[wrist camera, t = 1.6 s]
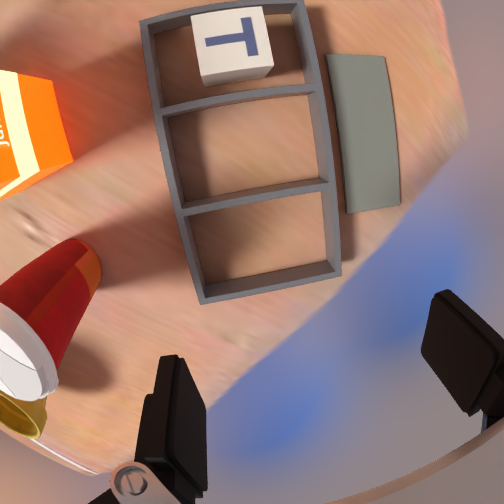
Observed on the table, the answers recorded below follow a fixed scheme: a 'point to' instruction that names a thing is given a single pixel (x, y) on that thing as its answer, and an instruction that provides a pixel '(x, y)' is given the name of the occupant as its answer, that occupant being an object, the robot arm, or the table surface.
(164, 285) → the table surface
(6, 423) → the plant pot
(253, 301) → the table surface
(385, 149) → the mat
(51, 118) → the orange juice
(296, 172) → the table surface
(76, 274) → the coffee cup
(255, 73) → the letter cube
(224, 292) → the sorting box
